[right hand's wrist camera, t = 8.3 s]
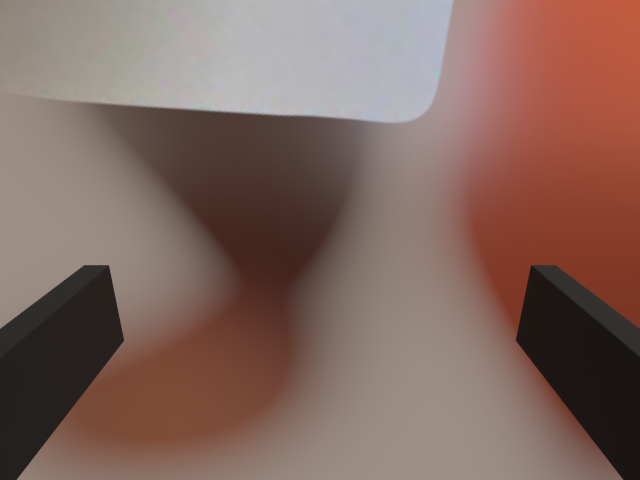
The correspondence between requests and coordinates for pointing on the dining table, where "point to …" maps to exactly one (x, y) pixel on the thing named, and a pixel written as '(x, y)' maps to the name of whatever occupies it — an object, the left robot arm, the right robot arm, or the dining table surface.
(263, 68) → the dining table surface
